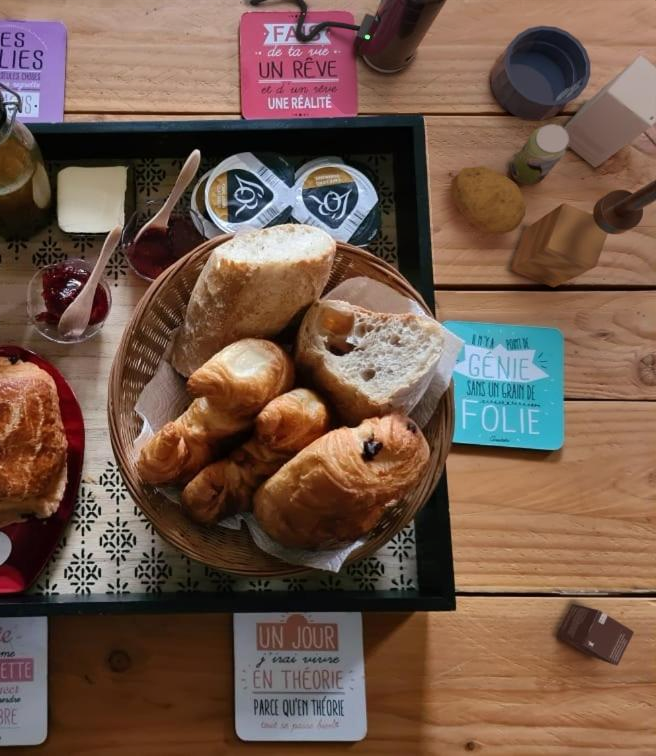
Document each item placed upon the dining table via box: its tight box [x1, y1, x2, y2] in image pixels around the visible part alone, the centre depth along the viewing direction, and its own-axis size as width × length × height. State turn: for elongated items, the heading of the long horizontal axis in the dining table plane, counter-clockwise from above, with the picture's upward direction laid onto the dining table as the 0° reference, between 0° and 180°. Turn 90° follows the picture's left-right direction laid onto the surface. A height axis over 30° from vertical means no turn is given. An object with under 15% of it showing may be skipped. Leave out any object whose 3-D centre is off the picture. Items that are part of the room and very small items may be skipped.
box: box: [556, 603, 635, 666], centre depth 114 cm, size 6×6×7 cm
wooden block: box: [509, 202, 609, 288], centre depth 120 cm, size 8×8×12 cm
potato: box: [450, 165, 527, 235], centre depth 123 cm, size 10×13×9 cm
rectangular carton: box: [563, 54, 656, 168], centre depth 122 cm, size 9×9×15 cm
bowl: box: [490, 25, 591, 121], centre depth 128 cm, size 15×15×6 cm
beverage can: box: [510, 123, 570, 186], centre depth 123 cm, size 6×7×12 cm
